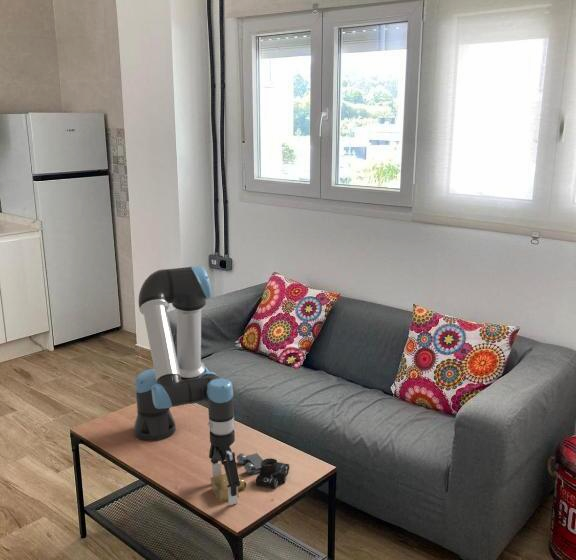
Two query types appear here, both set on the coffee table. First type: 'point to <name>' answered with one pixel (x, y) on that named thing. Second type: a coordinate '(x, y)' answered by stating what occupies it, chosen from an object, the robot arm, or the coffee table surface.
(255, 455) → the steel hinge leaf
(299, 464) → the coffee table surface
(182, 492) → the coffee table surface
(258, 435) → the coffee table surface
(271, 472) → the film camera
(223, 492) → the gold knuckled block
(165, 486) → the coffee table surface
